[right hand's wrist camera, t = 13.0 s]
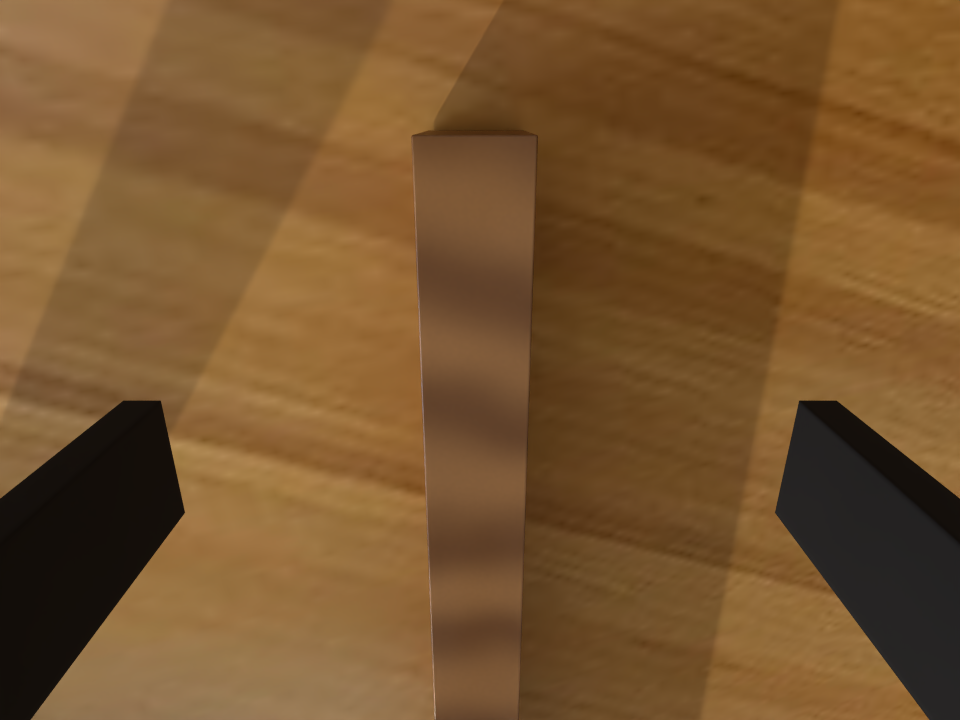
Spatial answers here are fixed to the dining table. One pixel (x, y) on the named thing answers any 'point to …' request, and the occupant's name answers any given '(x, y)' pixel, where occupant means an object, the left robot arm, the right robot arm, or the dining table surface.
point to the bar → (475, 405)
